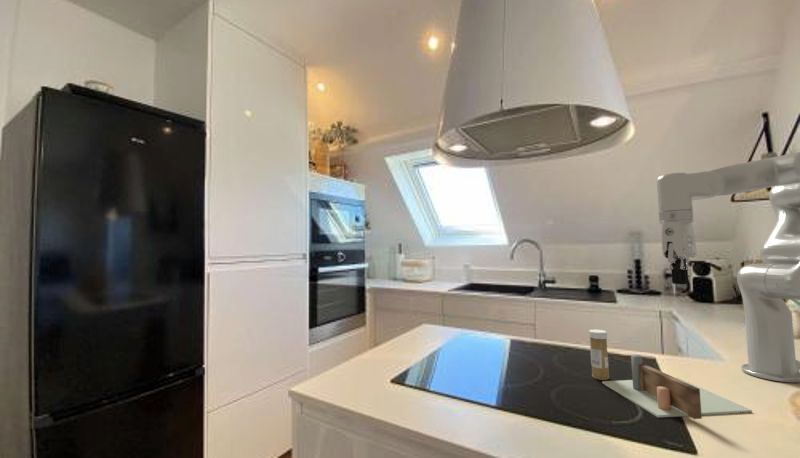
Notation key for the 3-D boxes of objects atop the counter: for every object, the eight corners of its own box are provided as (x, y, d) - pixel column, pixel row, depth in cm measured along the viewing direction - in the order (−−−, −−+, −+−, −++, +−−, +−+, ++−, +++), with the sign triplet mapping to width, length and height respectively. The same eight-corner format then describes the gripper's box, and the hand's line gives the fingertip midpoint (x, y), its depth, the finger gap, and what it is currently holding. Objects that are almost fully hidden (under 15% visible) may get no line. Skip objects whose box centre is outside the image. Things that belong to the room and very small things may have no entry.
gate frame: (678, 379, 100) (675, 347, 100) (752, 412, 80) (748, 371, 80) (602, 383, 99) (600, 350, 99) (657, 417, 79) (655, 376, 79)
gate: (701, 418, 75) (699, 388, 76) (694, 419, 75) (692, 389, 75) (646, 388, 91) (644, 364, 91) (640, 389, 91) (638, 364, 91)
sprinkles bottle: (613, 379, 101) (610, 332, 101) (598, 381, 100) (595, 333, 101) (602, 374, 105) (599, 328, 106) (588, 375, 105) (585, 329, 105)
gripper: (680, 216, 92) (686, 287, 91) (702, 217, 100) (707, 282, 99) (648, 218, 98) (652, 285, 97) (671, 219, 106) (675, 281, 105)
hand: (680, 283), depth 98 cm, fingers closed
